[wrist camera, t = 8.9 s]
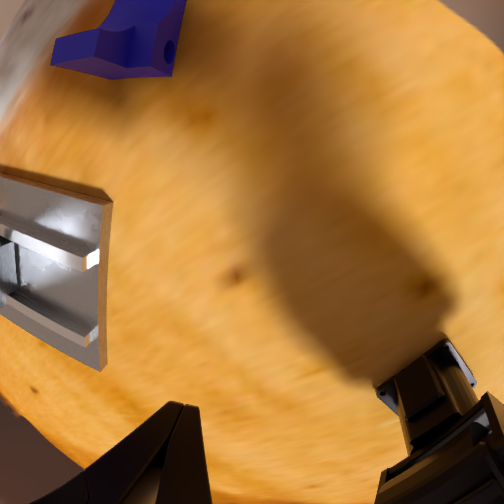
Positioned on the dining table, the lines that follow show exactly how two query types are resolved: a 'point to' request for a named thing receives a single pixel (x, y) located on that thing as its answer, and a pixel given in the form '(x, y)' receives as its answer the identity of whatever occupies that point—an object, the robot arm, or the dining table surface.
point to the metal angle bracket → (7, 269)
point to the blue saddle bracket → (126, 41)
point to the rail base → (58, 266)
